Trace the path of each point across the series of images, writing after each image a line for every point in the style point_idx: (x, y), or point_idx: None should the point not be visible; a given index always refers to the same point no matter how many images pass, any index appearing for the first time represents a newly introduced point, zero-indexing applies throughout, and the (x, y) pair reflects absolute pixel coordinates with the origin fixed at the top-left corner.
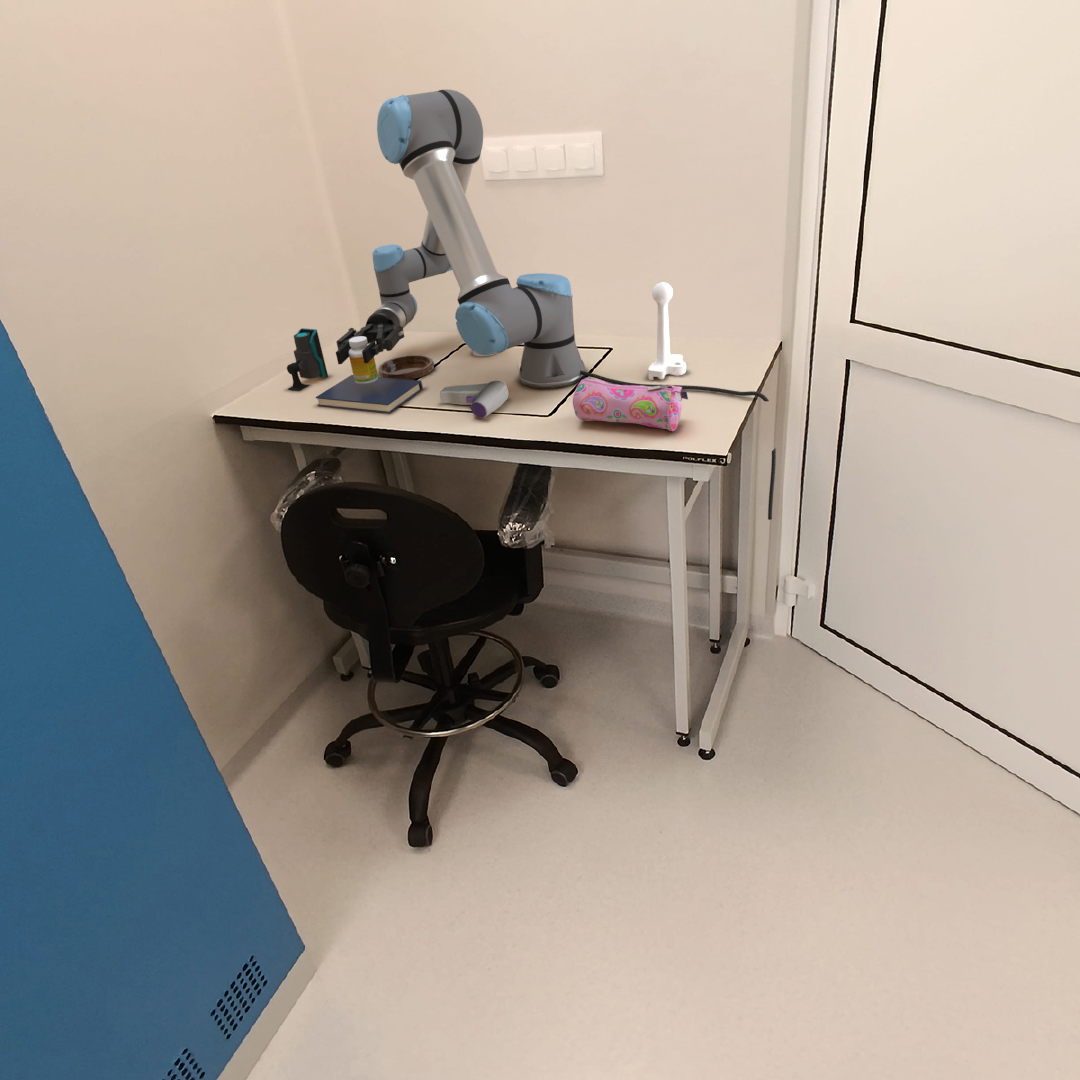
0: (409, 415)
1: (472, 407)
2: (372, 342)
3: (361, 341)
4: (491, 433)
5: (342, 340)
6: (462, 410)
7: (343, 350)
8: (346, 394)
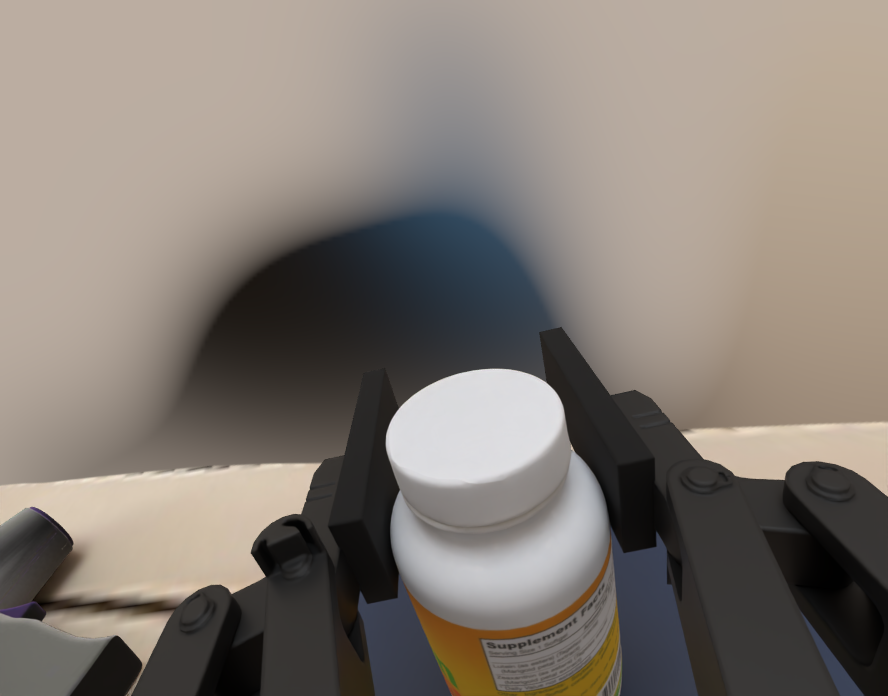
0: None
1: (60, 527)
2: (348, 495)
3: (413, 399)
4: (85, 490)
5: (817, 521)
6: (88, 613)
7: (563, 383)
8: (625, 582)
